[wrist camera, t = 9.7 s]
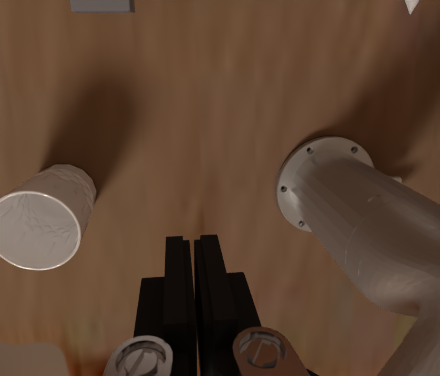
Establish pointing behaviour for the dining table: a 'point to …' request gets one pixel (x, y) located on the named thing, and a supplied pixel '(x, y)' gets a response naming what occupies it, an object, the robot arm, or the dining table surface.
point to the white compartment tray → (411, 4)
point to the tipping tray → (102, 6)
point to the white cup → (46, 217)
